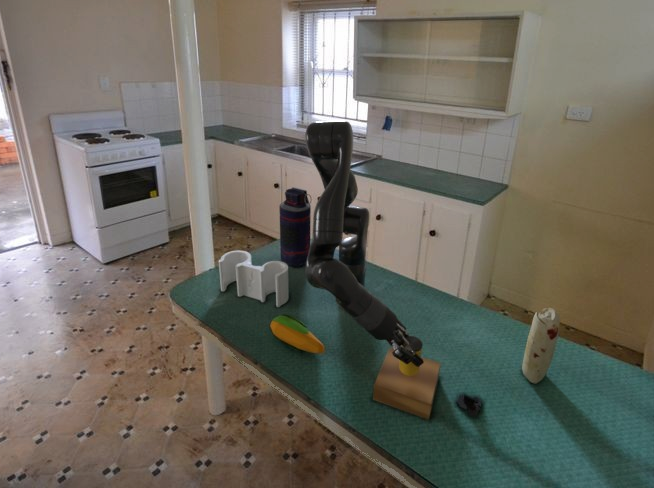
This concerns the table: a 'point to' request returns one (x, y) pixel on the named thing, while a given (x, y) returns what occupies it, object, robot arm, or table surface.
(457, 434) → the table surface
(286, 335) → the corn
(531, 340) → the food model
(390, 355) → the wood block
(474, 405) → the block figure
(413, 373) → the tin
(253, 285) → the bracket
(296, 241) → the navy water bottle
